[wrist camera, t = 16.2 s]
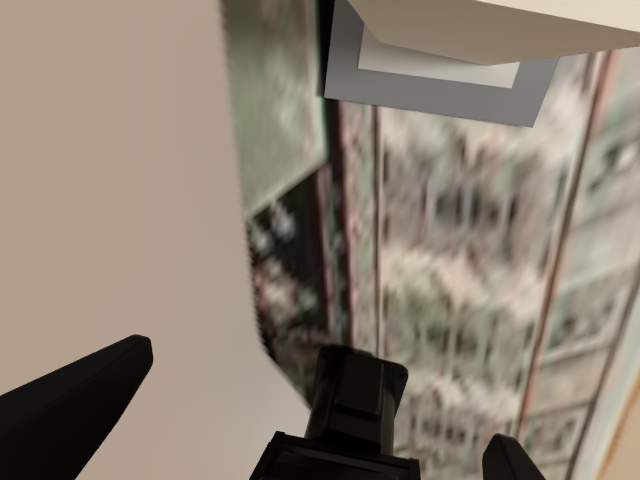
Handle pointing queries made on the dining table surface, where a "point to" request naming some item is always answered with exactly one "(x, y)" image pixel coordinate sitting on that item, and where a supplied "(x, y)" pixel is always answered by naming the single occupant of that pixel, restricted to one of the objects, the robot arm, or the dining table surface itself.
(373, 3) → the cream block
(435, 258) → the dining table surface
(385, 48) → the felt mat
